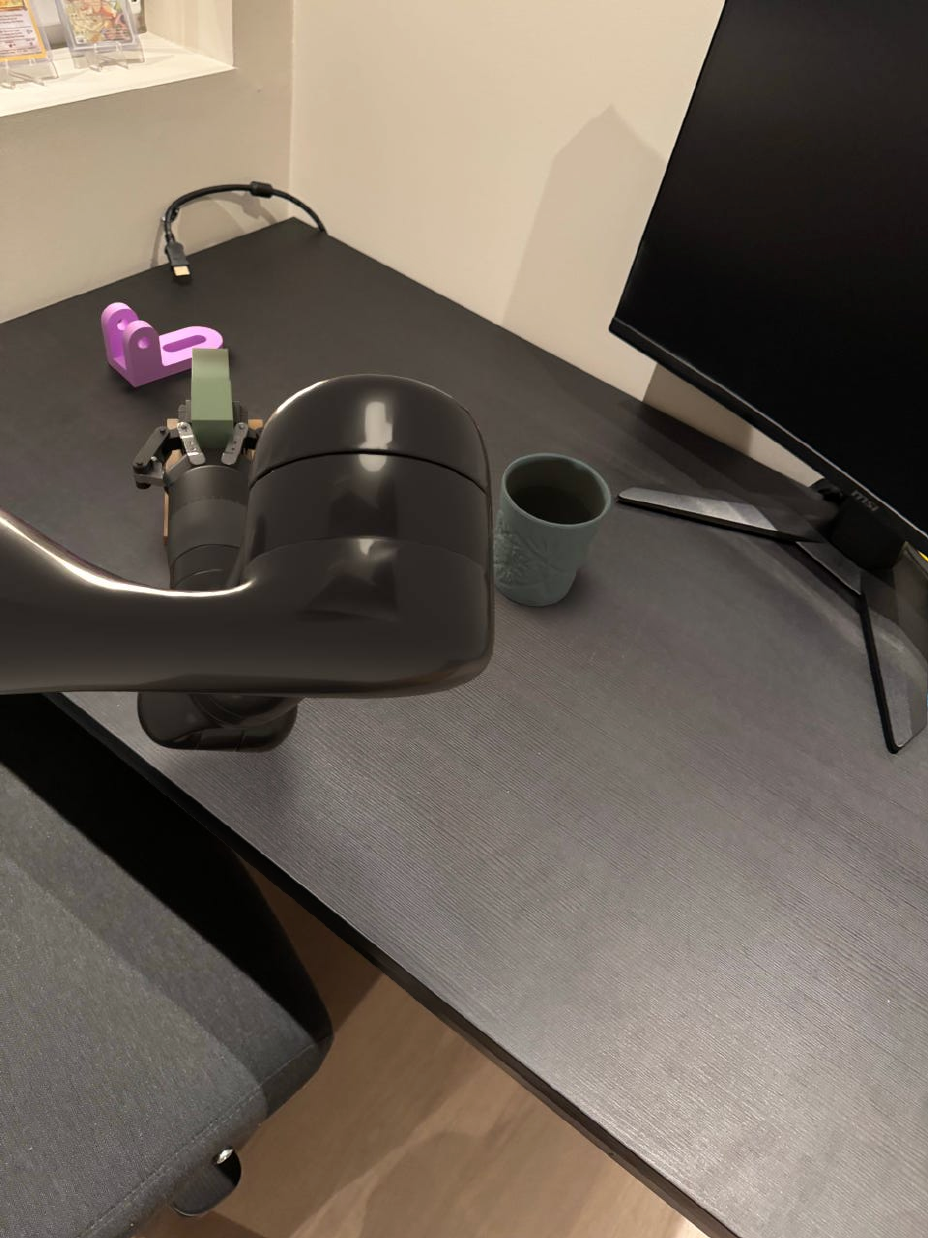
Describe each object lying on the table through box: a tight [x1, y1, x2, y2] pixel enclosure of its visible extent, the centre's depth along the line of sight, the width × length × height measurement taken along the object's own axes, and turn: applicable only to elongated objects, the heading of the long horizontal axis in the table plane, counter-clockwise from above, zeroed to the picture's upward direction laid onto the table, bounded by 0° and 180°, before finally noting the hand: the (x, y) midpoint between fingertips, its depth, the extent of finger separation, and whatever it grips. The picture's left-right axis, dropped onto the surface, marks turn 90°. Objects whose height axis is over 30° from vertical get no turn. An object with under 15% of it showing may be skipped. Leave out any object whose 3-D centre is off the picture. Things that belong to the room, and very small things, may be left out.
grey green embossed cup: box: [493, 452, 612, 607], centre depth 81 cm, size 10×10×12 cm
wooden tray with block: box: [163, 348, 264, 548], centre depth 83 cm, size 18×10×10 cm, turn 12°
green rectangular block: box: [190, 379, 234, 449], centre depth 79 cm, size 6×4×9 cm, turn 12°
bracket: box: [100, 302, 224, 388], centre depth 97 cm, size 13×6×7 cm, turn 135°
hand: (213, 408), depth 79 cm, fingers closed on green rectangular block, 3 cm apart
